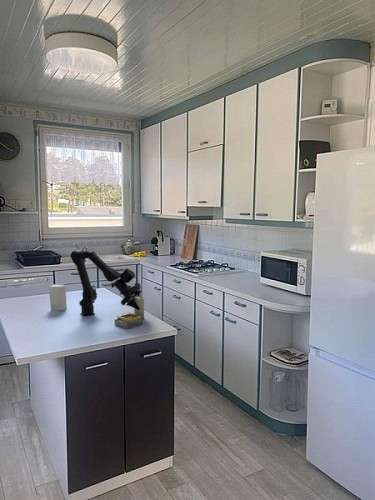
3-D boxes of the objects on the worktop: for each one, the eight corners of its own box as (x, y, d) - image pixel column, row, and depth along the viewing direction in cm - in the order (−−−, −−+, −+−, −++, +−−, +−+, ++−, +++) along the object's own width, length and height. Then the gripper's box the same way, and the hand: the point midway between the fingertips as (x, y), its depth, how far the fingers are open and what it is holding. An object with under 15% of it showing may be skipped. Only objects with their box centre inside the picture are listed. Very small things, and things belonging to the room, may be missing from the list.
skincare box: (67, 308, 246) (66, 284, 245) (62, 311, 240) (61, 286, 238) (54, 307, 247) (53, 284, 245) (49, 310, 241) (48, 286, 239)
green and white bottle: (138, 321, 220) (138, 295, 218) (132, 319, 224) (132, 293, 222) (146, 318, 224) (145, 293, 222) (139, 317, 228) (139, 292, 226)
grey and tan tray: (127, 329, 205) (127, 320, 205) (114, 324, 213) (114, 316, 212) (143, 324, 214) (143, 316, 213) (130, 320, 221) (130, 312, 220)
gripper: (125, 282, 213) (144, 303, 212) (138, 276, 231) (156, 295, 230) (112, 295, 216) (131, 315, 215) (126, 288, 234) (143, 307, 232)
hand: (141, 308), depth 223 cm, fingers closed on green and white bottle, 6 cm apart
